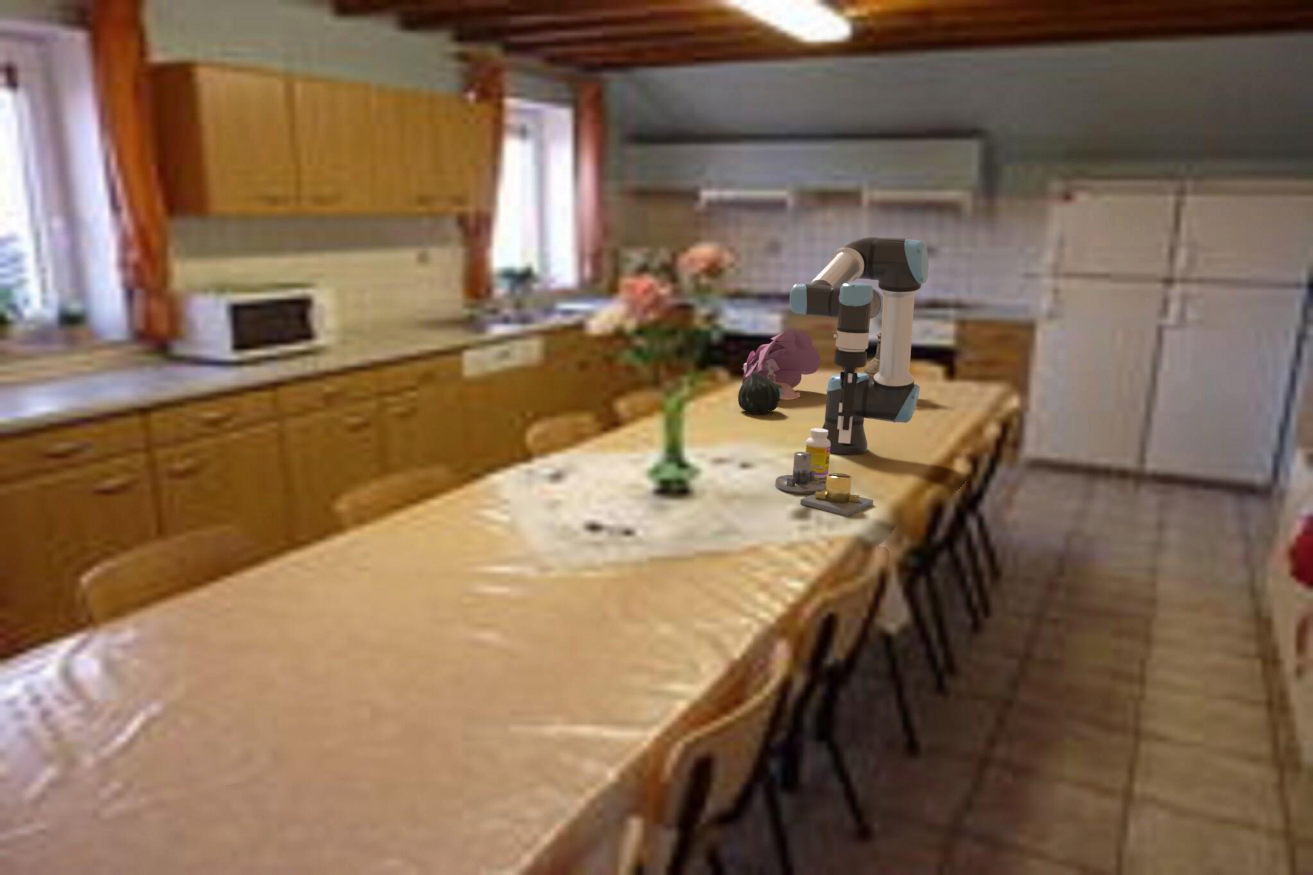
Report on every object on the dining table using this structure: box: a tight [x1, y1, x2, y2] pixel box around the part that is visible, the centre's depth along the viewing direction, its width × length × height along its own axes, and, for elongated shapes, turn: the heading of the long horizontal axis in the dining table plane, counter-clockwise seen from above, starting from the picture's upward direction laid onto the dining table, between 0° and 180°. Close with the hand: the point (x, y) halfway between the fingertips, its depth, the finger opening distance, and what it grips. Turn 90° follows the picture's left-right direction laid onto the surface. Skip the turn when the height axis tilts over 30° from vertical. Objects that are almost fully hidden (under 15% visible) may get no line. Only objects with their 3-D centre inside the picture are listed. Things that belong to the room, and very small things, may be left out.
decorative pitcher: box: [863, 332, 881, 380], centre depth 372 cm, size 22×18×25 cm
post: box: [774, 451, 826, 496], centre depth 245 cm, size 13×13×9 cm
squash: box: [737, 372, 781, 415], centre depth 335 cm, size 14×15×15 cm
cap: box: [815, 472, 861, 503], centre depth 232 cm, size 11×6×6 cm, turn 81°
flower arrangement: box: [741, 328, 822, 401], centre depth 367 cm, size 35×24×28 cm
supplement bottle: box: [804, 427, 831, 479], centre depth 256 cm, size 7×7×13 cm
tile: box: [800, 490, 874, 517], centre depth 233 cm, size 13×13×1 cm
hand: (843, 435), depth 229 cm, fingers open, 13 cm apart
